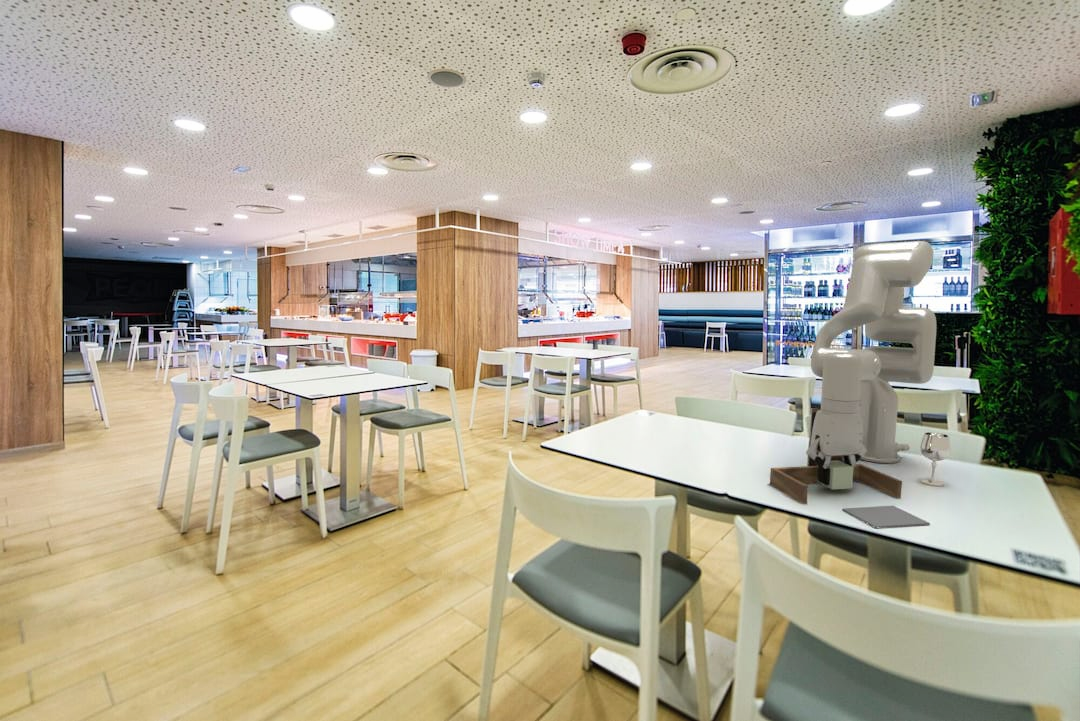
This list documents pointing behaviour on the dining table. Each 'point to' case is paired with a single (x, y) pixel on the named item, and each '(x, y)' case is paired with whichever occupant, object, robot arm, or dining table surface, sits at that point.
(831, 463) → the sage block
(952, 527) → the dining table surface
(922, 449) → the wineglass
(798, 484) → the open wooden frame
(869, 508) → the grey mat
